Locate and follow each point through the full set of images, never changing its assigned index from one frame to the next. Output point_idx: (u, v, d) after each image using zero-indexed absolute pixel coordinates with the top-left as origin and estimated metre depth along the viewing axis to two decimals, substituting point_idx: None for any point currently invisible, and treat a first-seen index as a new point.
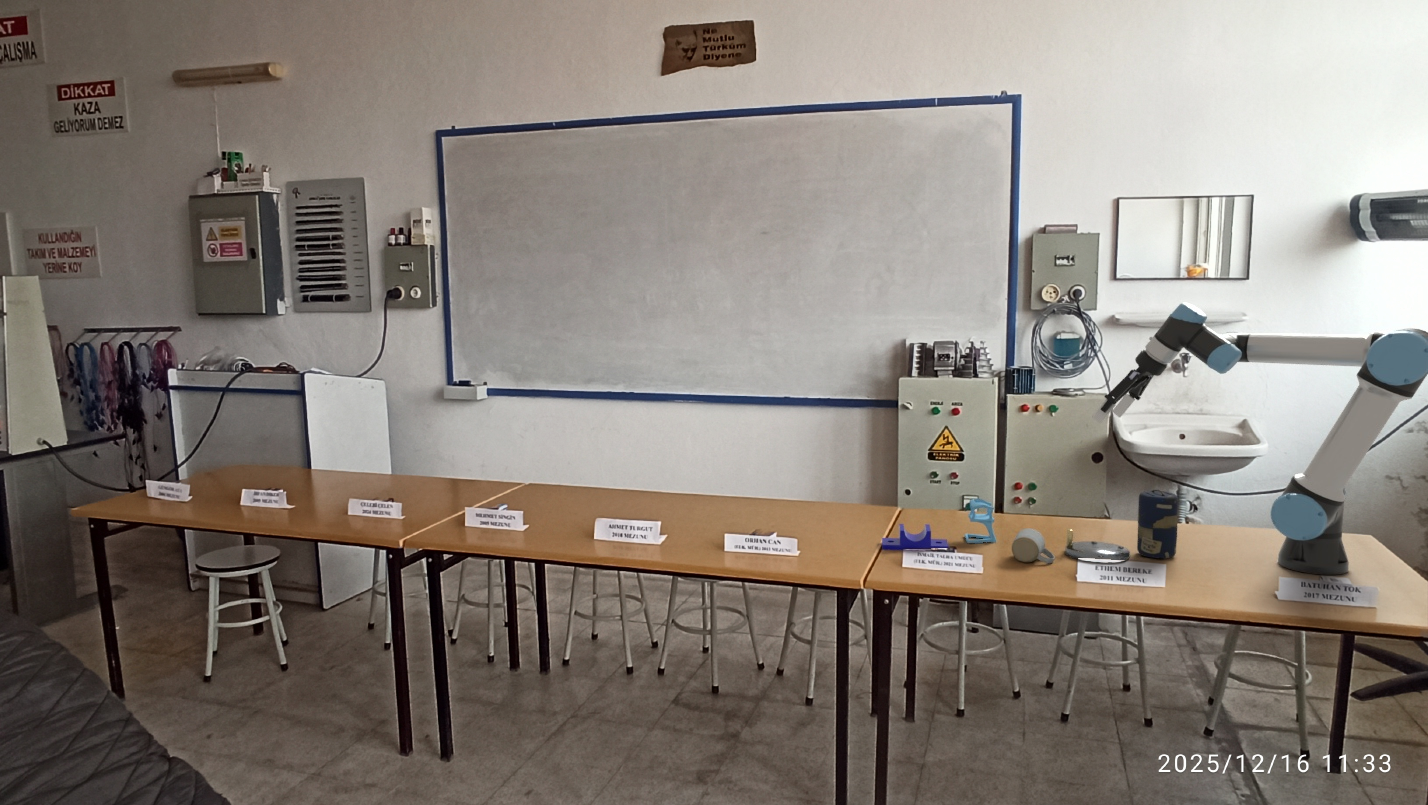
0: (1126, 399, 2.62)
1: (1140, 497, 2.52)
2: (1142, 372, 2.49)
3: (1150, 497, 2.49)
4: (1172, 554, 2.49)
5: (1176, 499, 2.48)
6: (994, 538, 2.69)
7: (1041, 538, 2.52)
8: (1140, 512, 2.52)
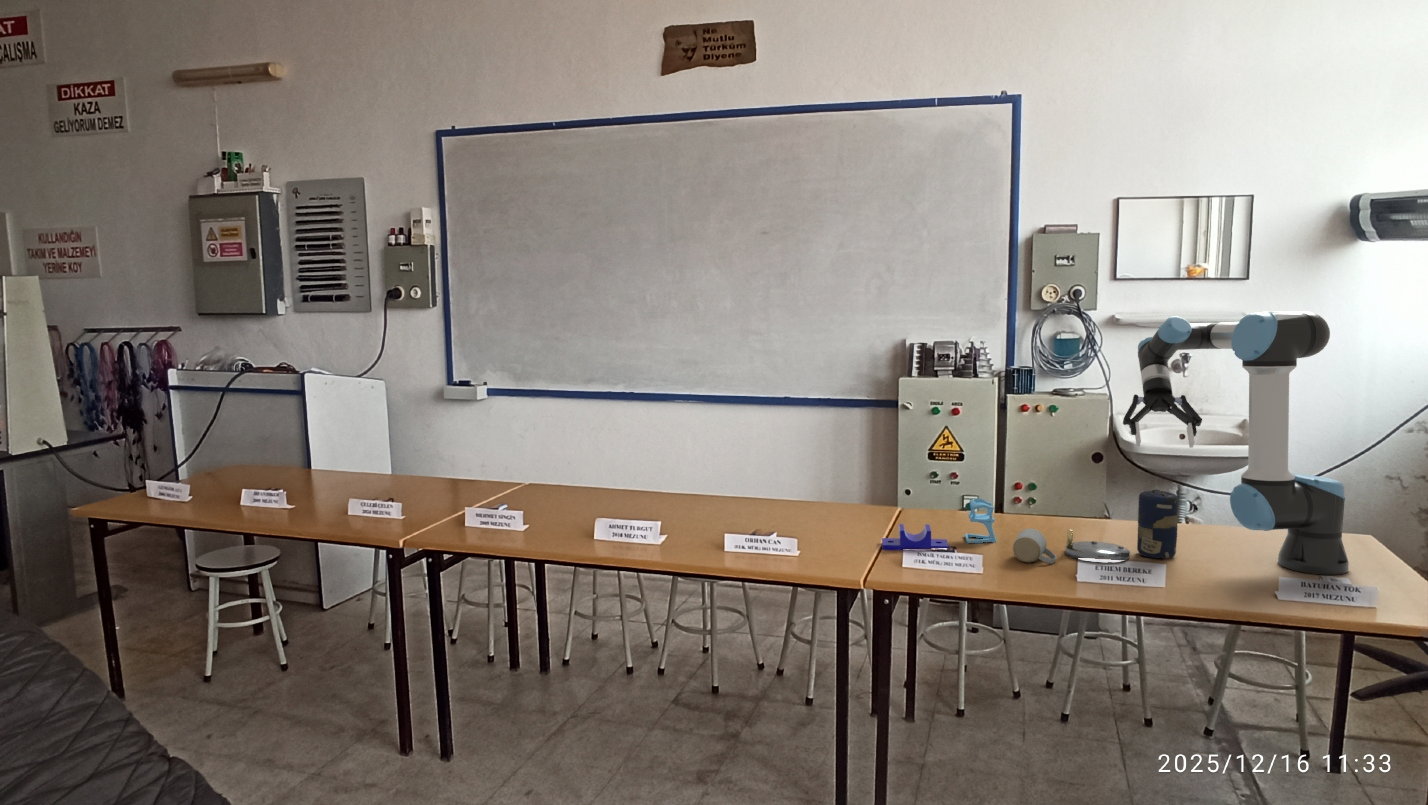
0: (1187, 430, 2.65)
1: (1140, 497, 2.52)
2: (1144, 394, 2.73)
3: (1150, 497, 2.49)
4: (1172, 554, 2.49)
5: (1176, 499, 2.48)
6: (994, 538, 2.69)
7: (1043, 538, 2.52)
8: (1140, 512, 2.52)
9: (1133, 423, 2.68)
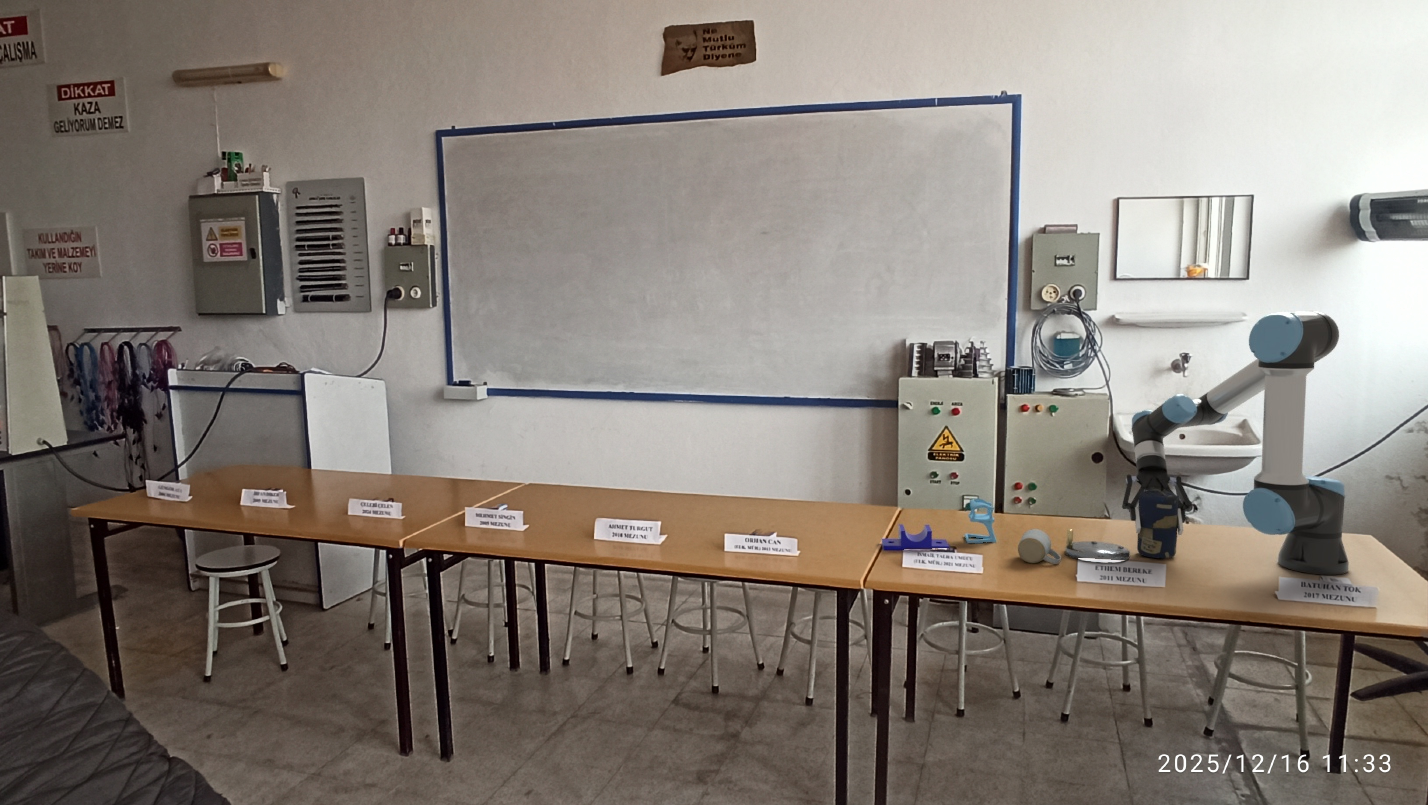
0: None
1: (1140, 497, 2.52)
2: (1137, 473, 2.61)
3: (1150, 497, 2.49)
4: (1172, 554, 2.49)
5: (1176, 499, 2.48)
6: (994, 538, 2.69)
7: (1047, 538, 2.51)
8: (1140, 512, 2.52)
9: (1133, 508, 2.54)
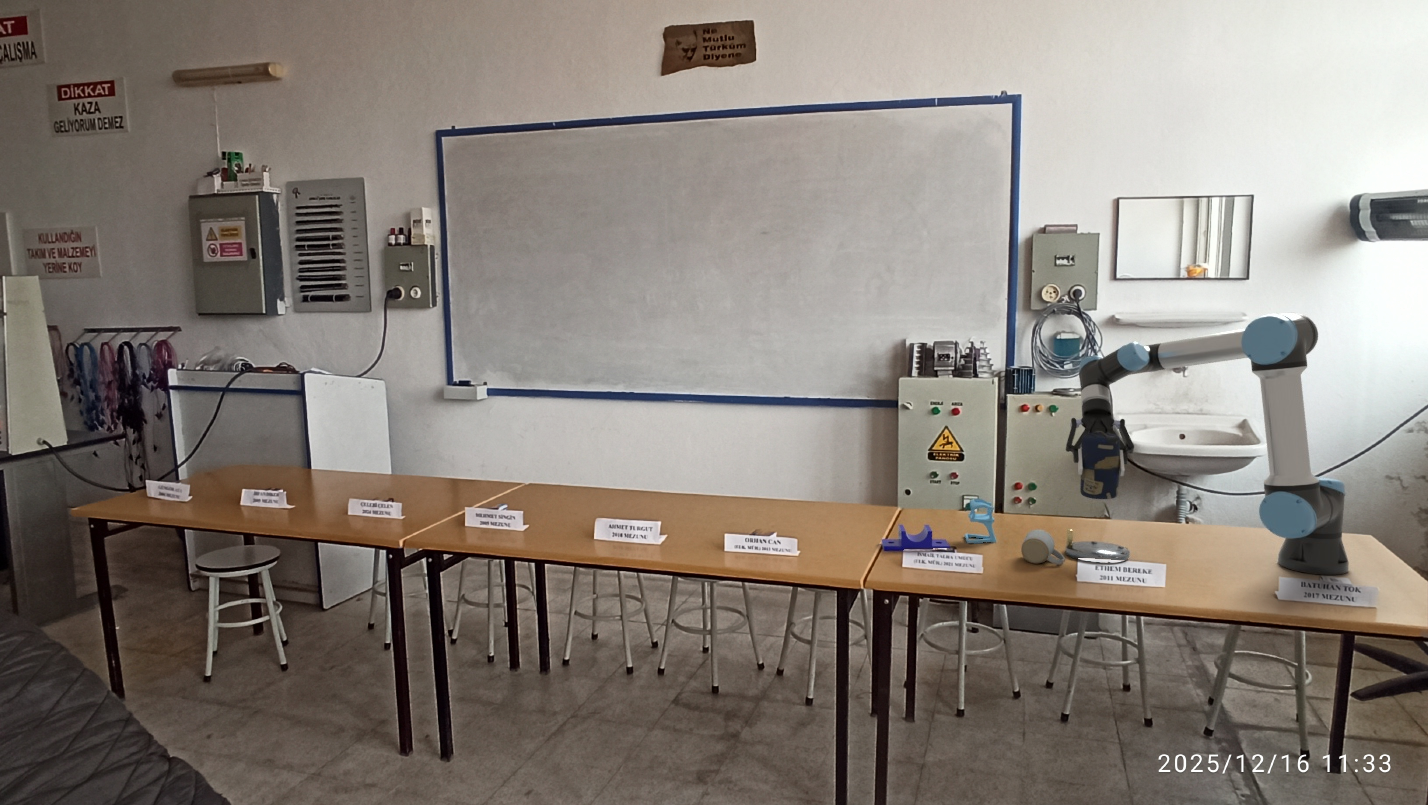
0: None
1: (1083, 438, 2.52)
2: (1082, 416, 2.61)
3: (1092, 438, 2.49)
4: (1114, 495, 2.50)
5: (1118, 440, 2.48)
6: (994, 538, 2.69)
7: (1051, 539, 2.51)
8: (1082, 453, 2.52)
9: (1076, 450, 2.55)
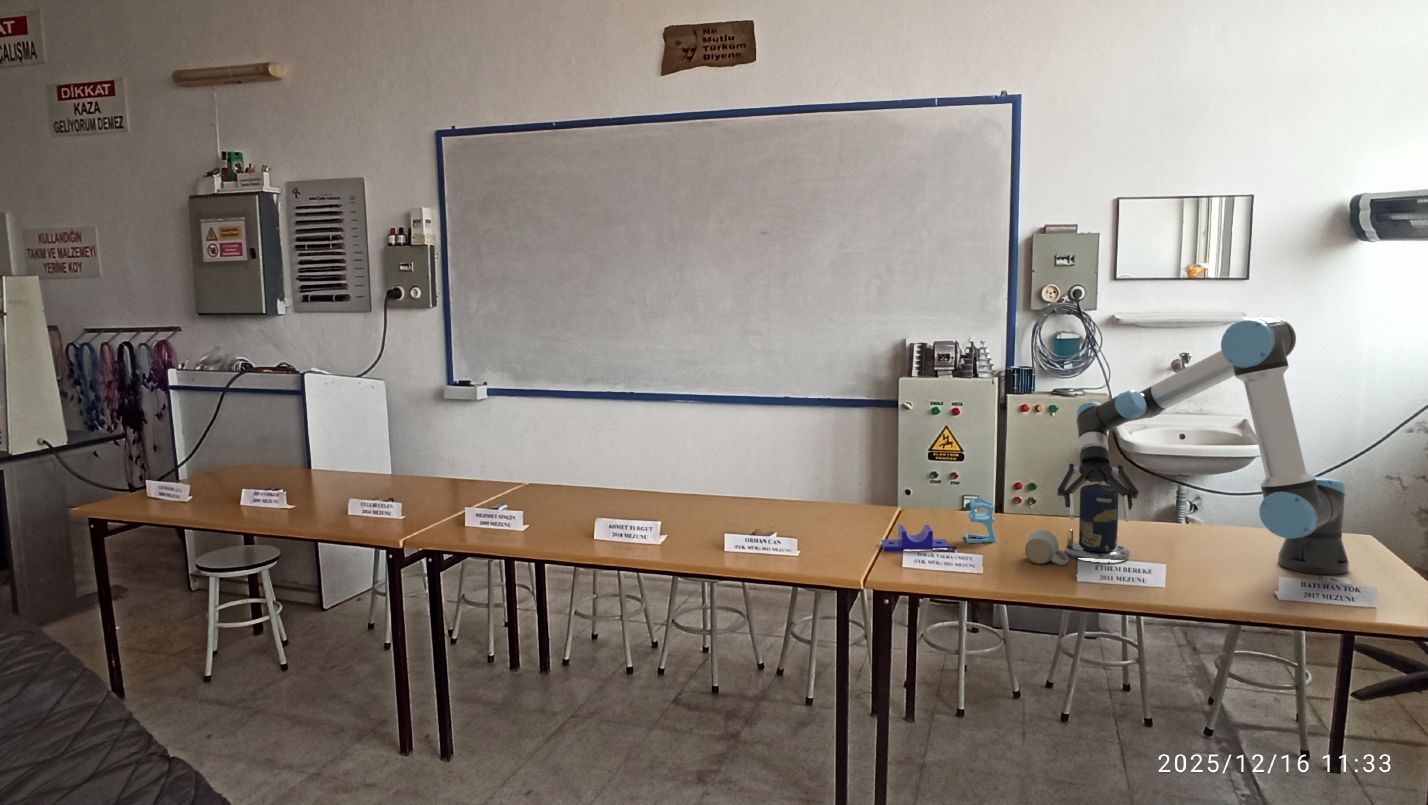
0: (1123, 502, 2.54)
1: (1081, 491, 2.54)
2: (1081, 463, 2.62)
3: (1090, 491, 2.51)
4: (1112, 547, 2.51)
5: (1116, 493, 2.50)
6: (994, 538, 2.69)
7: (1055, 539, 2.50)
8: (1081, 506, 2.54)
9: (1067, 494, 2.57)
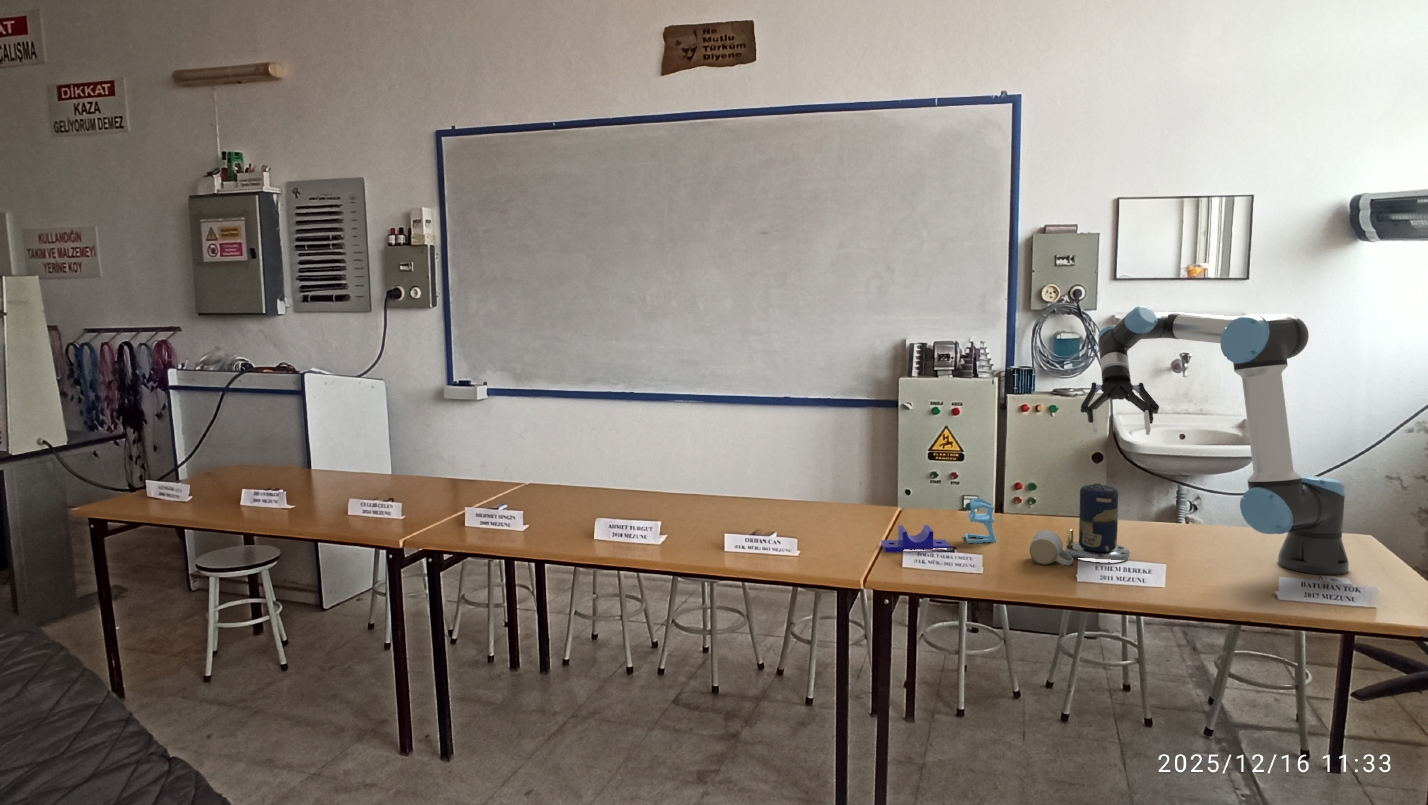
0: (1144, 417, 2.64)
1: (1081, 491, 2.54)
2: (1103, 382, 2.72)
3: (1090, 491, 2.51)
4: (1112, 547, 2.51)
5: (1116, 493, 2.50)
6: (994, 538, 2.69)
7: (1059, 540, 2.50)
8: (1081, 506, 2.54)
9: (1090, 411, 2.67)
